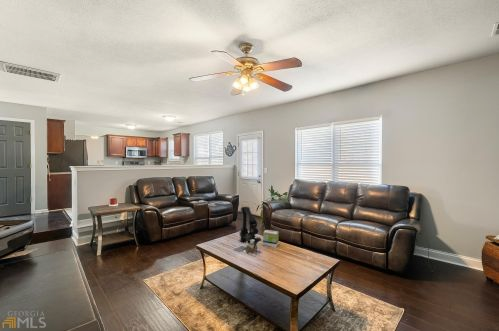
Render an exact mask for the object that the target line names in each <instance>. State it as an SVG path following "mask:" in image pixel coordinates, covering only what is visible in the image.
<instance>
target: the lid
mask: <svg viewBox="0 0 499 331" xmlns="http://www.w3.org/2000/svg"><path fill="white" fill-rule="evenodd" d="M245 245H246V246H249V247H251V248H253V247H254V242H253V241H250V243H248V242H247V244H245ZM256 245H257V246H258V243H257V244H256ZM246 246H245V247H246Z"/></svg>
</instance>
